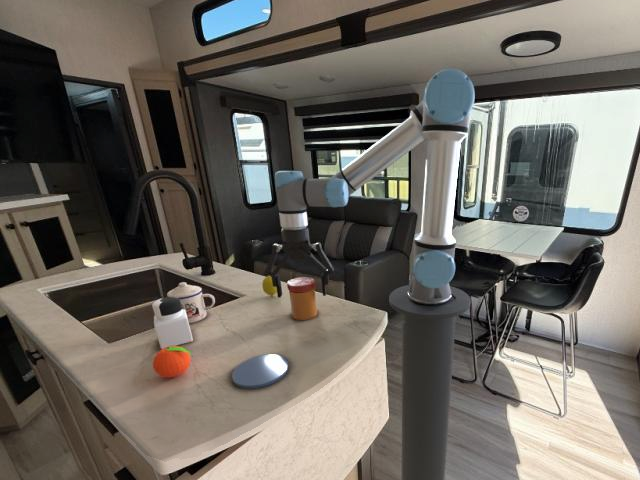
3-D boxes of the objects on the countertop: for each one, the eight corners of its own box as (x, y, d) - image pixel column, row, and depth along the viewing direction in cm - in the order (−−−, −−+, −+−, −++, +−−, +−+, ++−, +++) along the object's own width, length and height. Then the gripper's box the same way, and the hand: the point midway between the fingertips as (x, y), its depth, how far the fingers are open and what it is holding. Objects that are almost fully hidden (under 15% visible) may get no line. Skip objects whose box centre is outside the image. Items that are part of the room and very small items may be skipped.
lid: (303, 280, 104) (302, 275, 103) (320, 285, 99) (320, 280, 99) (282, 288, 97) (281, 282, 97) (300, 294, 93) (299, 288, 92)
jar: (322, 313, 103) (319, 282, 99) (303, 322, 97) (299, 289, 93) (306, 307, 107) (302, 278, 103) (287, 316, 101) (283, 284, 97)
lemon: (260, 297, 114) (257, 277, 112) (271, 292, 119) (268, 272, 116) (273, 299, 113) (270, 278, 110) (283, 294, 118) (280, 273, 115)
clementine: (203, 364, 76) (197, 338, 74) (190, 382, 70) (182, 354, 67) (167, 366, 75) (159, 340, 73) (150, 385, 69) (141, 357, 66)
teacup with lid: (169, 326, 94) (159, 290, 90) (178, 314, 102) (169, 280, 98) (215, 320, 98) (207, 285, 94) (220, 308, 106) (213, 275, 102)
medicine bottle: (190, 331, 91) (180, 292, 87) (193, 341, 86) (182, 300, 82) (160, 338, 87) (148, 298, 83) (161, 349, 82) (148, 307, 78)
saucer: (299, 367, 75) (299, 364, 75) (253, 396, 66) (252, 392, 65) (267, 351, 81) (267, 349, 81) (221, 376, 72) (221, 373, 72)
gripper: (339, 224, 97) (343, 289, 104) (254, 225, 94) (264, 292, 101) (337, 228, 90) (342, 298, 97) (245, 230, 87) (257, 301, 94)
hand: (302, 295), depth 99 cm, fingers open, 13 cm apart
